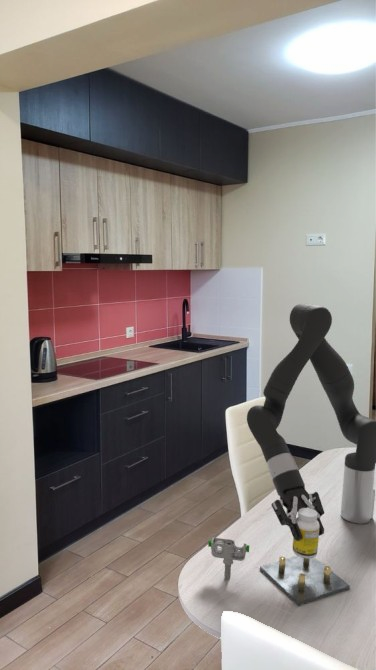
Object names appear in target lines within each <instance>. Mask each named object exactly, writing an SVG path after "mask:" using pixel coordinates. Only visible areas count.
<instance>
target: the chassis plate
mask: <svg viewBox="0 0 376 670" xmlns="http://www.w3.org/2000/svg"><path fill="white" fill-rule="evenodd" d="M331 568H332V567H331V566H329V565H325V564H323V562H321V561H319V560H318V559H317V558H316V557H314V558H310V559H307V558H301V557H299V556H297V555H296V556H292V557H289V558H286V557H285V556H279V559H278V560H277V561H274V562H271V563H267V564H263V565H260V566H259V570H260V571H261V572H262V573H263V574H264V575H265V577H267V578H268V579H269V580H270V581H272V582H273V583H274V585H276V587H277V588H279V589H280V590H281V592H282V593H284V594H285V595H286V596H287V597H288V598H289V599H290V600H292V602H293V603H294V604H295V605H296V606H298V607H300V606H304V605H307V604H309V603H313V602H315V601H319V600H321V599H324V598H328V597H330V596H334V595H336V594H339V593H343V592H345V591H347V590H350V589H351V586H350V584H349V583H347V582H346V581H345V580H344V579H343V578H341V577H340V576H339V575H337V574H336V573H334V572H333V571H332V569H331Z"/></svg>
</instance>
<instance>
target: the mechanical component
mask: <svg viewBox="0 0 376 670" xmlns="http://www.w3.org/2000/svg"><path fill="white" fill-rule="evenodd" d="M207 545H208V547H210V550H211V551H210V552H211V556H212V557H214V558H219V559H222V563H223V564H224V573H223V574H224V577H223V578H224V581H227V582H229V581H230V580H231V575H232V574H231V573H232V572H231V570H232V569H231V568H232V565H233V564H234V561H239V562H243V561H245V559H246V554H247V553H250V545H248V544H247V543H243V546H241V547H240V546H237V545H236V543H235V540H233V539H230V538H229V539H226V538H221V537H219V538H218V537H214V536H213V537H212V539H209V540H208V543H207Z"/></svg>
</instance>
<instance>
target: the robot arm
mask: <svg viewBox="0 0 376 670" xmlns="http://www.w3.org/2000/svg"><path fill="white" fill-rule="evenodd" d="M291 309H292V310H290V313H289V324H290V327H291V329H292V331H293V333H294V335H295V336H296V337H297V339H298V341H297V342H296V344H295V345H294V347H293V348H292V350H291V351H290V352H289V353H288V354H287V355H286V356H285V357H284V358H282V360H281V361H280V362H278V364H277V365H276V366H275V368H274V369H273V370H272V372H271V374H270V376H269V378H268V380H267V382H266V385H265V387H264V389H263V392H262V393H263V395H264V398H265V400H264V402H263V405H253V406H252V407H250V408H249V410H248V411H247V414H246V422H247V426H248V428H249V430H250V432H251V435H252V436H253V437H254V439H255V441H256V442H257V444H258V445H259V447H260V449H261V452H262V455H263V457H264V460H265V462H266V465H267V469H268V473H269V475H270V478H271V480H272V484H273V486H274V489H275V491H276V493H277V495H278V496H279V499H276V500H274V501H273V502H272V503H271V507H272V509H273V512H274V513H275V515H276V517H277V520H278V522H279V524H280V525H281V526H287V527H288V528H289V530H290V532H291V535H292V537H293V538H294V539H296V541H300V540H301V539H303V537H302V534H301V532H300V529H299V527H298V524H296V518H297V516H298V511H299V509H301V508H310V509H313V510H315V511H316V512H317V521H318V522H319V537H320V536H322V535H324V534H325V528H324V526H323V522H322V521H321V517H322V516H323V515H324V514H325V509H324V507H323V505H322V501H321V497H320V495H319V493H318V492H317V491H315V492H313V493H309V492H308V491H307V490H306V488H305V486H306V484H305V482H304V480H303V479H304V478H303V476H302V475H301V473H300V470H299V467H298V466H297V463H296V460H295V459H294V457H293V456H292V453H291V451H290V449H289V447H288V444H287V442H286V439H284V437H283V436H282V435H281V434H279V432H278V431H277V429H278V428H279V426H280V424H281V421H282V418H283V414H284V411H285V408H286V402H287V399H289V396H290V394H291V392H292V391H293V388H294V385H295V384H296V382H297V380H298V378H299V376H300V374H301V372H302V371H303V369H304V367H305V366H306V365H307V363H308V361H310V363H311V365H312V367H313V369H314V370H315V373H316V376H317V377H318V380H319V382H320V384H321V386H322V388H323V390H324V392H325V394H326V396H327V398H328V400H329V402H330V405H331V407H332V409H333V410H334V411H333V412H334V413H335V415H336V419H337V423H338V425H339V428H340V430H341V433H342V435H343V437H344V438H345V439H346V440H347V441H348V442H350V443H352V444H355V445H356V449H355V452H349V453H347V454H346V455H345V457H344V467H343V479H342V494H341V506H340V516H341V517H342V518H343V519H344V520H345V521H348V522H349V523H350V522H351V523H353V524H358V525H359V524H360V525H362V524H367V523H369V522H371V520H372V519H374V510H375V509H374V508H375V499H376V498H375V497H376V490H375V489H374V484H375V473H376V472H375V470H376V420H375V419H373V418H370V417H368V416H365V415H362V414H361V413H360V412H359V410H358V409H357V408H358V407H356V405H355V401H354V400H353V398H354V397H353V395H354V391H355V380H354V377H353V375H352V373H351V371H350V369H349V367H348V365H347V363H346V362H345V360H344V359H343V357H342V356H341V355H340V354H339V353H338V352H337V351H336V349H335V348H334V347H333V346H331V344H330V343H329V342H328V341H327V339H326V336H327V334H328V333H329V331H330V329H331V326H332V323H333V316H332V313H331V311H329V309H328V308H327V307H324V306H321V305H317V304H310V303H299V304H298V303H297V304H296V305H294V307H293V308H291ZM284 508H285V509H286V510H285V509H284ZM371 518H372V519H371ZM370 519H371V520H370Z"/></svg>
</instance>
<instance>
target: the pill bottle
mask: <svg viewBox="0 0 376 670" xmlns="http://www.w3.org/2000/svg"><path fill="white" fill-rule="evenodd" d="M297 516H298V517H297ZM297 516H296V524H298V527H299V529H300V532H301V534H302V537H303V539H301V540H300V541H296V539H294V538H293V539H292V552H293V553H294V554H295V555H296V556H299V557H301V558H307V559H310V558H316V556H317V555H318V550H319V548H318V547H319V539H320V536H319V522H318V521H317V512H316V511H315V510H313V509H310V508H301V509H299V511H298V512H297Z"/></svg>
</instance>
